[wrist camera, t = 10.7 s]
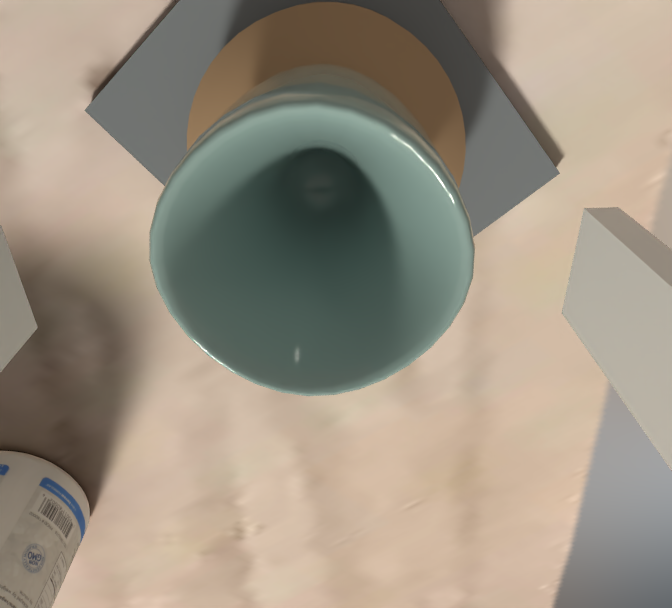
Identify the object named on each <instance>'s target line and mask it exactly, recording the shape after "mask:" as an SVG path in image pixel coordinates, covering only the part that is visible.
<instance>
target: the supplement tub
mask: <svg viewBox="0 0 672 608" xmlns="http://www.w3.org/2000/svg"><path fill="white" fill-rule="evenodd" d="M89 519H90V508H89V503H88V500H87V497H86V495H85V493H84V491H83V490H82V488H81V487H80V485H79V484H78V483H77V482H76V481H75V480H74V479H73V478H72V477H71V476H70V475H69V474H68V473H66V472H65V471H64V470H62V469H61V468H59V467H58V466H56V465H54V464H53V463H51V462H49V461H46V460H44V459H42V458H39V457H36V456H33V455H30V454H26V453H21V452H14V451H0V608H51V607H52V605H53V603H54V601H55V599H56V596H57V594H58V592H59V590H60V587H61V585H62V583H63V581H64V579H65V576H66V574H67V572H68V570H69V567H70V565H71V563H72V561H73V559H74V556H75V554H76V552H77V549H78V547H79V545H80V543H81V541H82V538H83V536H84V534H85V531H86V529H87V526H88V524H89Z"/></svg>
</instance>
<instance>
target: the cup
mask: <svg viewBox="0 0 672 608" xmlns="http://www.w3.org/2000/svg"><path fill="white" fill-rule="evenodd" d="M474 253H475V244H474V238H473V233H472V227H471V222H470V216H469V213H468V210H467V207H466V205H465V202H464V200H463V198H462V195H461V193H460V191H459V188H458V186H457V183H456V181H455V179H454V177H453V175H452V173H451V171H450V169H449V167H448V166H447V164H446V162H445V160H444V159H443V157H442V155H441V154H440V152H439V150H438V149H437V147H436V146H435V144H434V143H433V141H432V140H431V138H430V137H429V135H428V134H427V132H426V131H425V129H424V128H423V126H422V125H421V123H420V122H419V120H418V119H417V118H416V116H415V115H414V114H413V113H412V112H411V111H410V110H409V109H408V108H407V107H406V106H405V105H404V104H403V103H402V102H401V100H400V99H399V98H398V97H397V96H396V95H395V94H394V93H392V92H391V91H389V90H388V89H387V88H385V87H384V86H382V85H381V84H380V83H378V82H377V81H376V80H374V79H373V78H371V77H369V76H367V75H365V74H363V73H360V72H358V71H356V70H354V69H351V68H349V67H344V66H338V65H333V64H328V63H322V64H308V65H301V66H298V67H294V68H291V69H288V70H285V71H282V72H279V73H276V74H274V75H273V76H271V77H269V78H267V79H266V80H264V81H262V82H260V83H259V84H257V85H255V86H253V87H252V88H250V89H249V90H248V91H247V92H245V93H244V94H243V95H242V96H241V97H240V98H238V99H237V100H236V101H235V102H234V103H233V104H231V105H230V106H229V107H228V108H227V109H226V110H224V111H223V112H222V113H221V114H220V115H219V116H218V117H217V118H216V119H215V120H214V121H213V122H212V123H211V124H210V125H209V126H208V127H207V128H206V129H205V130H204V131H203V133H202V134H201V135H200V136H199V137H198V138H197V140H196V141H195V142H194V143H193V145H192V146H191V147H190V148H189V150H188V151H187V152H186V153H185V155H184V156H183V157H182V158H181V160H180V161H179V162H178V164H177V165H176V166H175V168H174V170H173V171H172V173H171V175H170V177H169V179H168V181H167V183H166V185H165V187H164V189H163V191H162V193H161V195H160V196H159V198H158V201H157V205H156V209H155V213H154V217H153V221H152V225H151V228H150V264H151V268H152V272H153V276H154V279H155V283H156V287H157V289H158V291H159V293H160V295H161V297H162V299H163V301H164V303H165V305H166V307H167V309H168V311H169V312H170V314H171V315H172V316H173V318H174V319H175V320H176V321H177V323H178V324H179V325H180V327H181V328H182V329H183V331H184V332H185V333H186V334H187V336H188V337H189V338H190V339H192V340H193V341H194V342H195V343H196V344H197V345H198V346H199V347H200V348H201V349H202V350H203V351H204V352H205V353H206V354H207V355H208V356H210V357H211V358H213V359H214V360H215V361H217V362H218V363H220V364H221V365H223V366H224V367H225V368H227V369H228V370H230V371H231V372H233V373H235V374H237V375H239V376H241V377H243V378H245V379H247V380H249V381H251V382H253V383H255V384H257V385H260V386H263V387H266V388H270V389H273V390H276V391H279V392H282V393H289V394H296V395H303V396H320V395H335V394H340V393H344V392H349V391H353V390H358V389H361V388H364V387H366V386H369V385H371V384H374V383H376V382H379V381H381V380H384V379H386V378H388V377H389V376H391V375H393V374H394V373H396V372H398V371H400V370H401V369H403V368H405V367H407V366H408V365H410V364H411V363H412V362H413V361H415V360H416V359H417V358H418V357H420V356H421V355H422V354H423V353H425V352H426V351H427V350H428V349H430V348H431V347H432V346H433V345H434V344H435V342H436V341H437V340H438V339H439V338H440V337H441V336H442V335H443V334H444V333H445V331H446V330H447V329H448V328H449V327H450V326H451V324H452V322H453V321H454V319H455V317H456V316H457V314H458V312H459V311H460V309H461V308H462V306H463V304H464V302H465V299H466V296H467V293H468V290H469V287H470V284H471V281H472V278H473V269H474Z"/></svg>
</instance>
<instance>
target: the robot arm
mask: <svg viewBox="0 0 672 608" xmlns="http://www.w3.org/2000/svg"><path fill="white" fill-rule="evenodd" d="M562 314H563V316H564V317H565V318H566V320H567V321H568V323H569V324H570V326H571V327H572V328H573V330H574V331H575V333H576V334H577V336H578V337H579V339H580V340H581V341H582V343H583V344H584V346H585V347H586V349H587V350H588V351H589V353H590V354H591V356H592V357H593V359H594V360H595V362H596V363H597V364H598V366H599V367H600V369H601V370H602V372H603V373H604V374H605V376H606V377H607V379H608V380H609V382H610V383H611V385H612V386H613V387H614V389H615V390H616V392H617V393H618V395H619V396H620V397H621V399H622V400H623V402H624V403H625V405H626V406H627V407H628V409H629V410H630V412H631V413H632V415H633V416H634V417H635V419H636V420H637V422H638V423H639V425H640V426H641V428H642V429H643V431H644V432H645V433H646V435H647V436H648V438H649V439H650V441H651V442H652V443H653V445H654V446H655V448H656V449H657V451H658V452H659V454H660V455H661V456H662V458H663V459H664V461H665V462H666V463H667V465H668V466H669V468H670V469H671V471H672V249H670V248H669V247H668V246H667V245H665V244H664V243H663V242H661V241H660V240H659V239H658V238H656V237H655V236H654V235H653V234H651V233H650V232H649V231H648V230H646V229H645V228H644V227H643V226H641V225H640V224H639V223H637V222H636V221H635V220H634V219H632V218H631V217H630V216H629V215H627V214H626V213H625V212H624V211H622V210H621V209H620V208H618V207H612V208H584V211H583V216H582V220H581V225H580V230H579V235H578V239H577V244H576V249H575V253H574V258H573V263H572V267H571V272H570V277H569V282H568V286H567V291H566V296H565V300H564V305H563V310H562ZM37 328H38V327H37V324H36V321H35V318H34V316H33V313H32V310H31V307H30V304H29V302H28V299H27V296H26V293H25V291H24V288H23V285H22V282H21V279H20V277H19V274H18V271H17V268H16V265H15V263H14V260H13V257H12V254H11V252H10V249H9V246H8V243H7V240H6V238H5V235H4V232H3V229H2V226H1V225H0V372H1V371H2V370H3V369H4V368H5V367H6V365H7V364H8V363H9V362H10V361H11V359H12V358H13V357H14V356H15V355H16V353H17V352H18V351H19V350H20V349H21V347H22V346H23V345H24V344H25V343H26V341H27V340H28V339H29V338H30V337H31V335H32V334H33V333H34V332H35V331H36V329H37Z"/></svg>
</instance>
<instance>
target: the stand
mask: <svg viewBox="0 0 672 608" xmlns="http://www.w3.org/2000/svg"><path fill="white" fill-rule="evenodd" d="M322 63H328V64H333V65H338V66H344V67H349V68H351V69H354V70H356V71H358V72H360V73H363V74H365V75H367V76H369V77H371V78H373V79H374V80H376V81H377V82H378V83H380V84H381V85H382V86H384V87H385V88H387V89H388V90H389V91H391V92H392V93H394V94H395V95H396V96H397V97H398V98H399V99H400V100H401V102H402V103H403V104H404V105H405V106H406V107H407V108H408V109H409V110H410V111H411V112H412V113H413V114H414V115H415V116H416V118H417V119H418V120H419V122H420V123H421V125H422V126H423V128H424V129H425V131H426V132H427V134H428V135H429V137H430V138H431V140H432V141H433V143H434V144H435V146H436V147H437V149H438V150H439V152H440V154H441V155H442V157H443V159H444V160H445V162H446V164H447V166H448V167H449V169H450V171H451V173H452V175H453V177H454V179H455V181H456V183H457V186H458V188H459V191H460V193H461V195H462V198H463V200H464V202H465V205H466V207H467V210H468V213H469V216H470V222H471V227H472V233H473V237H474V236H475V235H477V234H478V233H479V232H481V231H482V230H483V229H485V228H486V227H488V226H489V225H490V224H492V223H493V222H494V221H496V220H497V219H498V218H500V217H501V216H502V215H504V214H505V213H507V212H508V211H509V210H511V209H512V208H513V207H515V206H516V205H517V204H519V203H520V202H522V201H523V200H524V199H526V198H527V197H528V196H530V195H531V194H532V193H534V192H535V191H536V190H538V189H539V188H541V187H542V186H543V185H545V184H546V183H547V182H549V181H550V180H551V179H553V178H554V177H556V176H557V175H558V174H560V173H559V171H558V170H557V168H556V167H555V166H554V164H553V163H552V161H551V160H550V158H549V157H548V155H547V154H546V153H545V151H544V150H543V148H542V147H541V145H540V144H539V143H538V141H537V140H536V138H535V137H534V135H533V134H532V132H531V131H530V130H529V128H528V127H527V125H526V124H525V122H524V121H523V119H522V118H521V117H520V115H519V114H518V112H517V111H516V109H515V108H514V107H513V105H512V104H511V102H510V101H509V99H508V98H507V96H506V95H505V94H504V92H503V91H502V89H501V88H500V86H499V85H498V84H497V82H496V81H495V79H494V78H493V76H492V75H491V73H490V72H489V71H488V69H487V68H486V66H485V65H484V63H483V62H482V60H481V59H480V58H479V56H478V55H477V53H476V52H475V50H474V49H473V48H472V46H471V45H470V43H469V42H468V40H467V39H466V37H465V36H464V35H463V33H462V32H461V30H460V29H459V27H458V26H457V24H456V23H455V22H454V20H453V19H452V17H451V16H450V14H449V13H448V12H447V10H446V9H445V7H444V6H443V4H442V3H441V1H440V0H180V1H179V2H178V3H177V4H176V5H175V6H174V7H173V9H172V10H171V11H170V12H169V13H168V14H167V16H166V17H165V18H164V19H163V20H162V21H161V23H160V24H159V25H158V26H157V27H156V28H155V29H154V31H153V32H152V33H151V34H150V35H149V36H148V38H147V39H146V40H145V41H144V42H143V43H142V45H141V46H140V47H139V48H138V49H137V50H136V51H135V53H134V54H133V55H132V56H131V57H130V58H129V60H128V61H127V62H126V63H125V64H124V65H123V67H122V68H121V69H120V70H119V71H118V72H117V73H116V75H115V76H114V77H113V78H112V79H111V80H110V82H109V83H108V84H107V85H106V86H105V87H104V89H103V90H102V91H101V92H100V93H99V94H98V95H97V97H96V98H95V99H94V100H93V101H92V102H91V104H90V105H89V106H88V107H87V108H86V109H85V111H86V112H87V113H88V114H89V115H90V116H91V117H92V118H93V119H94V120H95V121H96V122H97V123H98V124H99V125H101V126H102V127H103V128H104V129H105V130H106V131H107V132H108V133H109V134H110V135H111V136H112V137H113V138H114V139H115V140H116V141H118V142H119V143H120V144H121V145H122V146H123V147H124V148H125V149H126V150H127V151H128V152H129V153H130V154H131V155H132V156H133V157H135V158H136V159H137V160H138V161H139V162H140V163H141V164H142V165H143V166H144V167H145V168H146V169H147V170H148V171H149V172H150V173H152V174H153V175H154V176H155V177H156V178H157V179H158V180H159V181H160V182H161V183H162V184H163V185H164V186H165V185H166V183H167V181H168V179H169V177H170V175H171V173H172V171H173V170H174V168H175V166H176V165H177V164H178V162H179V161H180V160H181V158H182V157H183V156H184V155H185V153H186V152H187V151H188V150H189V148H190V147H191V146H192V145H193V143H194V142H195V141H196V140H197V138H198V137H199V136H200V135H201V134H202V133H203V131H204V130H205V129H206V128H207V127H208V126H209V125H210V124H211V123H212V122H213V121H214V120H215V119H216V118H217V117H218V116H219V115H220V114H221V113H222V112H223V111H224V110H226V109H227V108H228V107H229V106H230V105H231V104H233V103H234V102H235V101H236V100H237V99H238V98H240V97H241V96H242V95H243V94H244V93H245V92H247V91H248V90H249V89H250V88H252V87H253V86H255V85H257V84H259V83H260V82H262V81H264V80H266V79H267V78H269V77H271V76H273V75H274V74H276V73H279V72H282V71H285V70H288V69H291V68H294V67H298V66H301V65H308V64H322Z"/></svg>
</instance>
